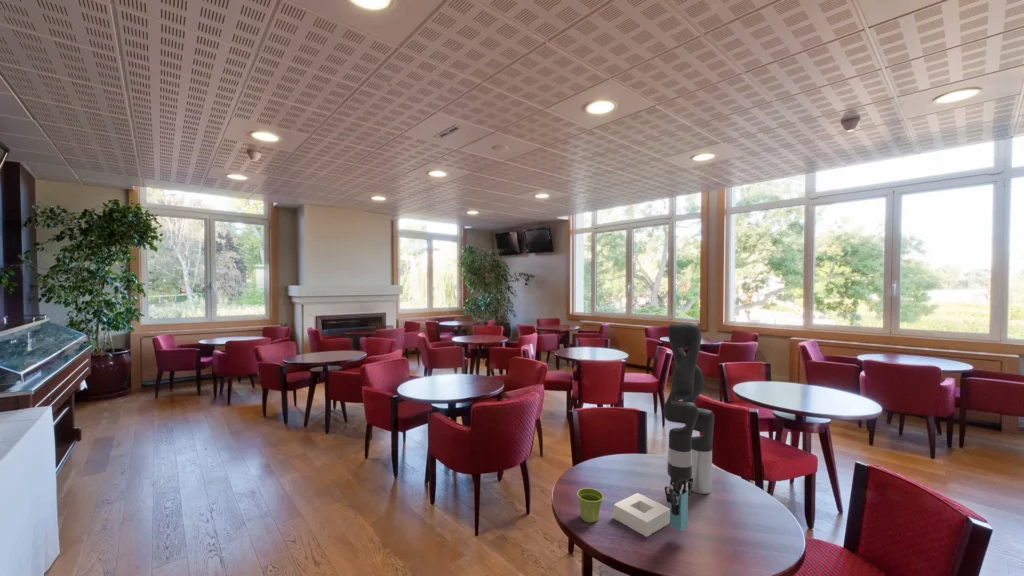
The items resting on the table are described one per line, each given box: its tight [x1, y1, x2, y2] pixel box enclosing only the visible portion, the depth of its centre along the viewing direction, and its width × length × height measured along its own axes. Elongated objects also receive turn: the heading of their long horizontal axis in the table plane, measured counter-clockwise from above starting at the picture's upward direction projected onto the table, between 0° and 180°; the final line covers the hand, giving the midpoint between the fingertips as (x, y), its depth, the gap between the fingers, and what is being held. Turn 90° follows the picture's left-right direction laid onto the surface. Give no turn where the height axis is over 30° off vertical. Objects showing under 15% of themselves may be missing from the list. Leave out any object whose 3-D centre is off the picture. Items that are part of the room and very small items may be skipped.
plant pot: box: [576, 487, 604, 524], centre depth 153 cm, size 9×9×9 cm
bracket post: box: [669, 491, 689, 532], centre depth 141 cm, size 4×4×12 cm
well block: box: [612, 492, 670, 538], centre depth 152 cm, size 14×14×5 cm
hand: (678, 512), depth 141 cm, fingers closed on bracket post, 4 cm apart
